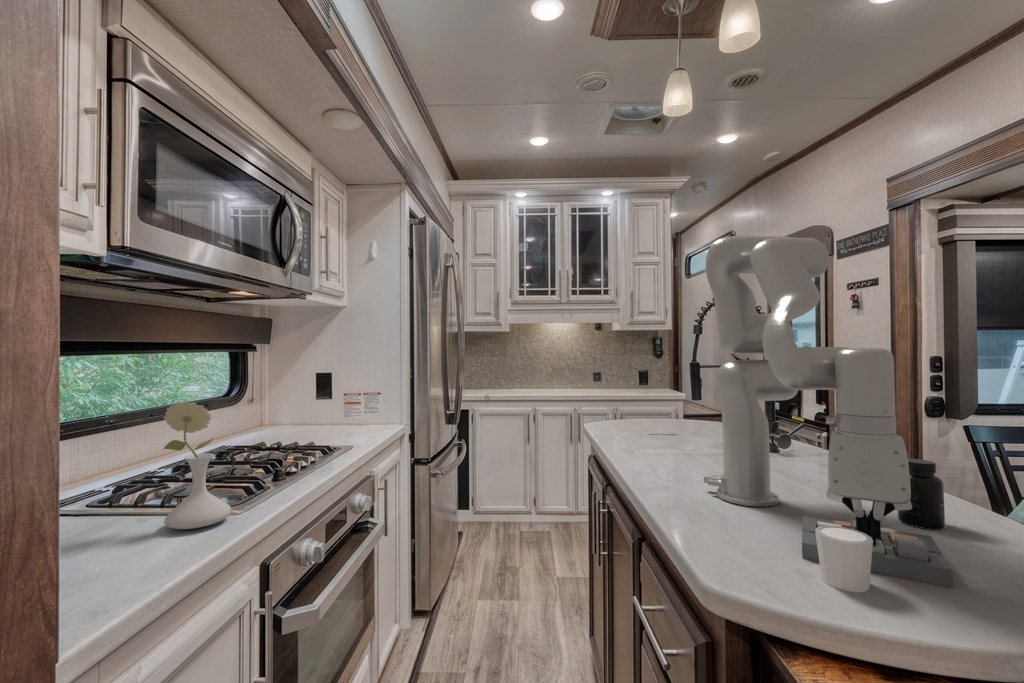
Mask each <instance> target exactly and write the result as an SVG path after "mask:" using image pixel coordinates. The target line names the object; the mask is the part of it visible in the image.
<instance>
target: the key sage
mask: <svg viewBox="0 0 1024 683" xmlns="http://www.w3.org/2000/svg"><path fill="white" fill-rule="evenodd" d="M872 552H876V553H882V554H885V549H884V546H883V543H882V541H878V540H876V546H875V545H873V548H872Z"/></svg>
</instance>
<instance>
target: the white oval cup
mask: <svg viewBox="0 0 1024 683" xmlns="http://www.w3.org/2000/svg"><path fill="white" fill-rule="evenodd" d="M815 532H816V540H817V547H818V555H819V561H818V563H819V568H820V576H821V580H822V581H823V582H824V583H825V584H827V585H829V586H830V587H833V588H835V589H837V590H841V591H845V592H850V593H865V592H868V591H869V589H870V583H871V573H872V572H871V560H872V548H873V540H872V538H871V537H870V536H868V535H867V534H865V533H862V532H860V531H857V530H853V529H849V528H845V527H838V526H821V527H817V528H816V529H815Z"/></svg>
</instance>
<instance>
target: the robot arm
mask: <svg viewBox="0 0 1024 683" xmlns="http://www.w3.org/2000/svg"><path fill="white" fill-rule="evenodd" d="M829 262H830V253H829V251H828V248H827V246H825V244H824V242H822V241H820V240H818V239H817V238H814V237H790V236H775V235H774V236H773V235H772V236H771V235H769V236H768V235H767V236H765V235H762V236H759V235H731V236H725V237H721V238H719V239H717V240H715V241H714V242H713V243H712V244H711V245H710V247H709V248H708V251H707V253H706V257H705V274H706V278H707V282H708V284H709V287H710V290H711V293H712V296H713V301H714V307H715V309H714V310H715V316H716V325H717V334H718V341H719V345H720V347H721V349H722V351H724V352H725V353H727V354H730V355H731V354H732V355H762V356H763V359H757V358H755V359H735V360H734V359H733V360H730V361H727V362H724V363H723V364H722V365H720V367H719V368H718V370H717V372H716V385H717V386H716V387H717V390H718V395H719V400H720V406H721V407H720V408H721V420H722V422H721V426H722V427H721V428H722V456H723V461H722V464H723V473H722V475H720V474H719V475H718V476H715V475H711V474H710V475H709V474H704V475H703V482H704V483H705V484H707V486H715V487H718V488H717V489H716V495H717V497H718V498H719V499H721V500H723V501H726V502H728V503H731V504H735V505H740V506H745V507H746V506H748V507H759V508H761V507H772V506H776V505H777V504H778V503H780V498H779V495H778V494H777V493H775V492H773V491H771V488H772V487H771V462H770V461H771V460H770V459H771V456H770V453H771V452H770V427H769V426H770V425H769V420H768V417H767V415H766V413H765V411H764V410H763V409H762V407H761V406H760V404H759V402H772V401H773V402H774V401H787V400H788V401H789V400H791V399H793V398H794V397H796V395H797V394H798V392H799V391H814V390H815V391H816V390H817V391H818V390H820V391H821V390H824V391H825V390H826V391H829V390H830V391H831V390H832V391H835V413H834V414H833V415H825V424H826V425H831V426H834V428H836V430H832V431H831V434H830V439H829V446H828V454H827V455H828V456H827V458H828V459H827V480H828V487H827V490H826V498H828V499H829V500H831V501H834V502H838V503H841V504H843V505H845V506H846V507H847V509H848V510H850V511H851V512H852V513H853V514H854V515H855V521H856V530H857V531H860V532H862V533H865V534H867V535H868V536H870V537H871V538H872V540H873V545H875V546H876V538H877V539H881V520H883V519H884V518H885V517H886V516H888V515H889V514H891V513H892V512H894V511H897V512H898V510H911V509H912V505H911V502H910V498H911V487H910V475H909V465H908V459H909V458H908V452H907V449H906V444H905V440H904V438H903V437H902V436H900V435H898V434H897V419H896V417H897V416H896V393H895V392H896V391H895V390H896V389H895V388H896V387H895V385H896V384H895V383H896V382H895V359H894V358H895V357H894V355H893V353H892V352H891V351H890V350H889V349H886V348H879V347H867V348H866V347H855V348H852V347H846V346H845V347H843V346H827V347H826V346H801V347H800V346H799V347H798V345H797V343H796V338H795V333H794V330H793V327H792V325H791V323H790V321H793V320H795V319H798V318H800V317H802V316H804V315H805V314H807V313H810V312H811V311H812V310H813V309H814V308H816V306H817V305H818V304H819V303H820V299H821V293H820V291H819V289H818V287H817V286H816V284H815V281H814V280H813V279H816V278H819V277H820V276H822V275H823V274H825V272H826V271H827V269H828V266H829V264H830V263H829ZM740 274H755V277H756V280H757V282H758V284H759V285H760V287H761V288H760V289H761V290H762V293H763V295H764V297H765V299H766V301H767V304H768V307H769V308H770V310H771V311H770V313H759V312H758V311H757V308H756V303H755V296H754V292H753V291H752V289H751V287H750V286H749V285H748V283H747V282H746V281H745V280H744V279H743V278H742V277H741V276H740ZM863 500H864V501H870V502H871V503H872V504H871V510H869V513H868V514H867V513H866V510H865V509H864V508H863V504H862V501H863Z"/></svg>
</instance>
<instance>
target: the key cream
mask: <svg viewBox="0 0 1024 683" xmlns="http://www.w3.org/2000/svg"><path fill="white" fill-rule="evenodd" d="M818 524H822V525H828V526H838V527H842V526H841V525H838V524H832V523H825V522H819V521H818Z"/></svg>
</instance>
